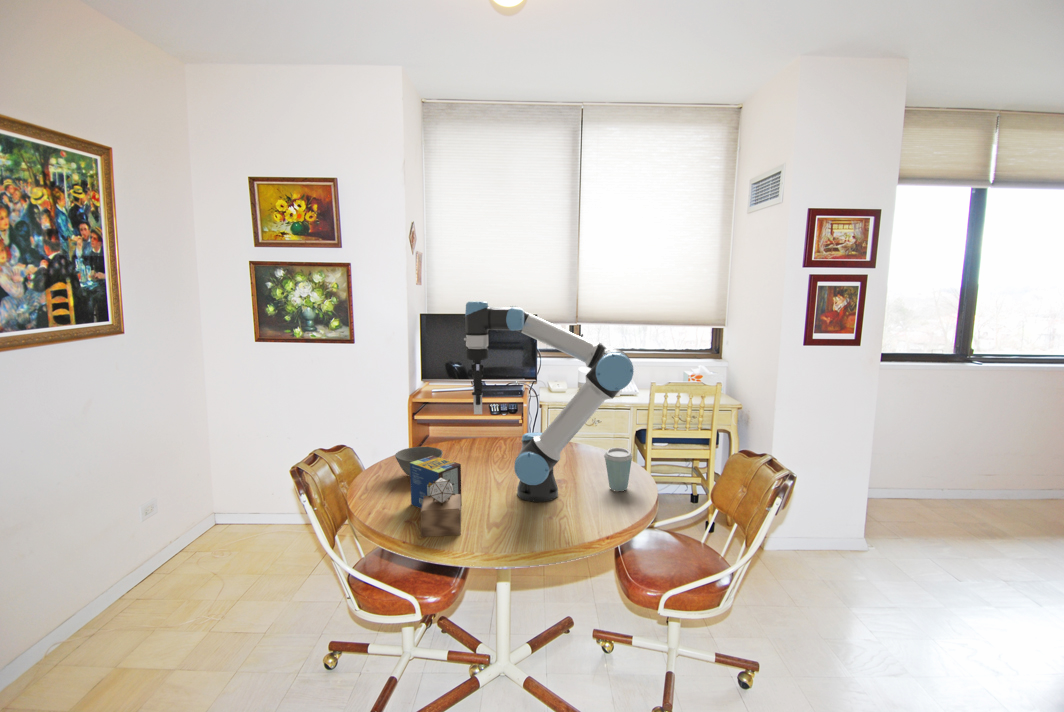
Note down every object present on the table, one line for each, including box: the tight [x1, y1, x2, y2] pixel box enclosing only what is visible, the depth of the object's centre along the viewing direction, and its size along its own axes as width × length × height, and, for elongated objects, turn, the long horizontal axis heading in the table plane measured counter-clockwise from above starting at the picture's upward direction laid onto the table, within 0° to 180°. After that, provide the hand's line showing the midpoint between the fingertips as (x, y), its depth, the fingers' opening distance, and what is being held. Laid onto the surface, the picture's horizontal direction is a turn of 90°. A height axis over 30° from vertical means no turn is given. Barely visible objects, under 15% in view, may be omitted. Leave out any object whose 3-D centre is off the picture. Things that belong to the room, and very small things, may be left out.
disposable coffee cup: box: [603, 447, 633, 492], centre depth 189 cm, size 11×11×15 cm
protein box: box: [409, 455, 463, 509], centre depth 173 cm, size 10×15×16 cm
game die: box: [428, 475, 455, 506], centre depth 157 cm, size 9×8×10 cm
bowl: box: [394, 446, 444, 478], centre depth 201 cm, size 19×19×10 cm
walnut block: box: [420, 493, 462, 538], centre depth 158 cm, size 12×12×8 cm
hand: (477, 409), depth 169 cm, fingers open, 13 cm apart
